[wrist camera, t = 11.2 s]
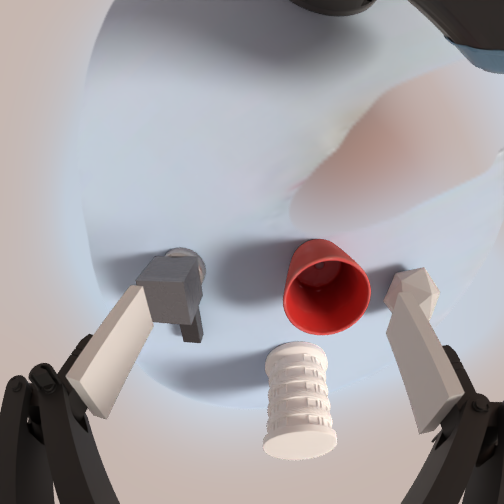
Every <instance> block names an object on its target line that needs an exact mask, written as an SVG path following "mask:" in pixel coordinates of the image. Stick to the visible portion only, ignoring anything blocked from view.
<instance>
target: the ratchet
mask: <svg viewBox="0 0 504 504" xmlns="http://www.w3.org/2000/svg"><path fill="white" fill-rule="evenodd" d="M165 256H198V264H199V272H200V279H201V285H202V282H203V280H204V278H205V274H206V268H205V264H204V262H203V260H202V258H201V257H200V256H199V255H198V254H197V253H196V252H194V251H192V250H190V249H187V248H182V247H179V248H174V249H172V250H170V251H168V252H167V253H166V255H165ZM180 328H181V332H182V336H183V341H184V342H192V343H201V340H202V337H203V328H202V323H201V317H200V311H199V306H198V309H197V311H196V314H195V317H194V319H193V322H192V324H191V325H185V324H180Z"/></svg>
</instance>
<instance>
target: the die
mask: <svg viewBox="0 0 504 504" xmlns="http://www.w3.org/2000/svg"><path fill="white" fill-rule="evenodd" d="M399 292H411V293H412V294H413V296H414V298H415V299H416V301H417V303H418V304H419V306H420V308H421V309H422V311H423V313H424V314H425V316H426V318H427V320H428V321H430V318H431V316H432V313H433V311H434V308H435V305H436V303H437V300H438V297H439V294H440V291H439V289H438V288H437V286H436V285H435V283H434V281H433V280H432V278H431V277H430V275H429V274H428V272H427V271H426V269H425V268H424V267H423V268H418V269H413V270H408V271H403V272H398V273H395V276H394V278H393V280H392V283H391V285H390V287H389V290H388V292H387V294H386V296H385V299H384V303H385V304H386V305H387V307H388V308H389V310H390V311H391V312H392V313H393V310H394V306H395V303H396V300H397V296H398V293H399Z"/></svg>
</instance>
